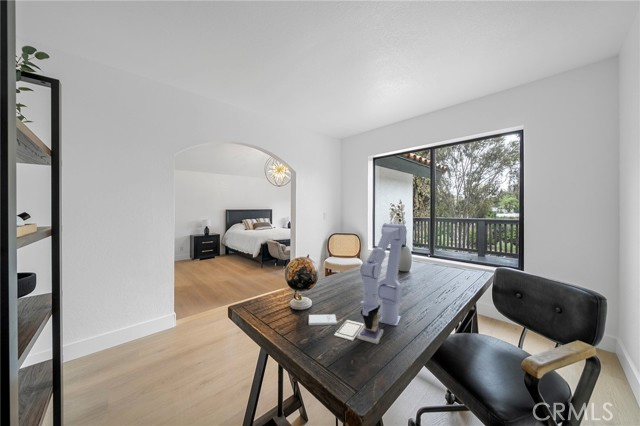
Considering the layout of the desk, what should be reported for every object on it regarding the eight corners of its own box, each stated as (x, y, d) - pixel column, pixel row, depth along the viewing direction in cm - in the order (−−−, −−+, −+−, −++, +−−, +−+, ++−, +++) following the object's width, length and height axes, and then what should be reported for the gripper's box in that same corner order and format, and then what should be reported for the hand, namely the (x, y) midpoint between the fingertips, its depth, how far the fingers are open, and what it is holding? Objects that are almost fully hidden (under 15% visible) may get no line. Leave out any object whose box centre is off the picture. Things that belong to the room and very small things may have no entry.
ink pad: (364, 327, 101) (364, 323, 101) (383, 332, 97) (383, 328, 97) (357, 338, 93) (357, 333, 93) (377, 343, 89) (377, 339, 89)
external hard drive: (308, 317, 112) (335, 317, 112) (308, 326, 104) (336, 325, 104) (308, 314, 112) (335, 313, 112) (308, 323, 103) (336, 322, 104)
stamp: (367, 325, 98) (367, 313, 98) (378, 327, 96) (378, 315, 96) (364, 330, 94) (364, 317, 94) (375, 332, 92) (375, 320, 92)
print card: (347, 320, 107) (347, 319, 107) (364, 324, 104) (364, 323, 104) (333, 335, 95) (333, 334, 95) (352, 340, 91) (352, 339, 91)
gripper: (366, 285, 103) (366, 316, 103) (354, 296, 90) (355, 331, 90) (382, 287, 99) (382, 319, 100) (373, 300, 87) (373, 336, 87)
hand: (370, 325), depth 95 cm, fingers closed on stamp, 4 cm apart
